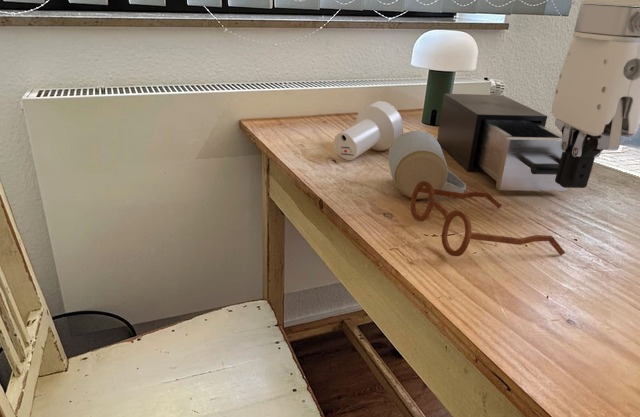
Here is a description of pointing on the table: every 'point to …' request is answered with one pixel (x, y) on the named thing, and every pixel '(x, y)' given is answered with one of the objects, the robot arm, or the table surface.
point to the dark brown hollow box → (476, 122)
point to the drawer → (519, 155)
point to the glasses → (467, 220)
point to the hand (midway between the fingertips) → (570, 184)
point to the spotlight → (370, 131)
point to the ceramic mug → (420, 165)
